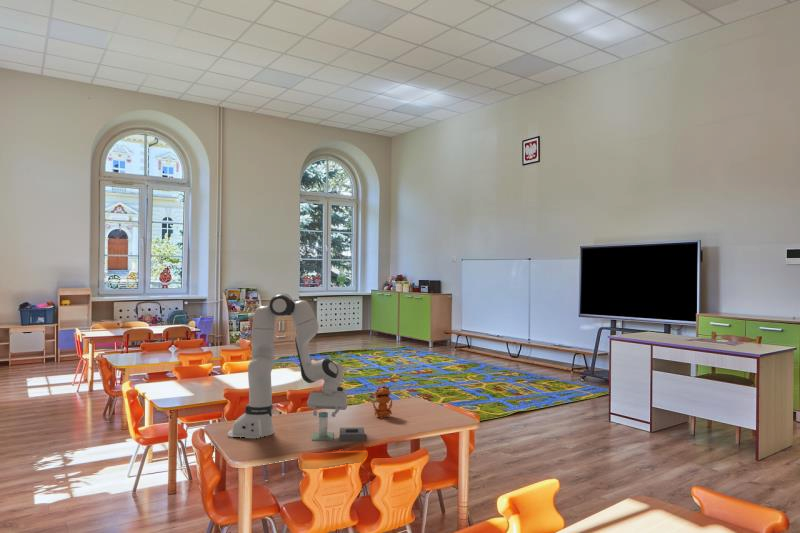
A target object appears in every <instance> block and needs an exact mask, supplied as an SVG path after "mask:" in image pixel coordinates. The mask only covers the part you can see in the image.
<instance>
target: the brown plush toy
mask: <svg viewBox="0 0 800 533" xmlns="http://www.w3.org/2000/svg"><path fill="white" fill-rule="evenodd" d="M391 393H392V392H391V391H390V386H386V385H382V386H381V387H380V386H378V387H377V389H376V391H375V392H374V396H375V401H376V402H377V403H378V406H377V407H376V405H375V401H374V400H372V406H373V409H374V415H375V416H377V418H378V417H387V418H388V417H390V416H391V415H393V413H392V410H391V409H392V407H393V400H392V399H391V396H390V395H391ZM388 403H390V404H389V405H388Z"/></svg>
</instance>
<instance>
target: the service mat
mask: <svg viewBox="0 0 800 533" xmlns="http://www.w3.org/2000/svg"><path fill="white" fill-rule="evenodd" d="M334 435H335V434H334V431H330V432H329V431H327V436H326V437H319V431H317V432H315V431H314V432H313V434H312V438H311V441H313V442H314V441H315V442H317V441H319V442H320V441H322V442H323V441H324V442H325V441H327V442H328V441H334Z"/></svg>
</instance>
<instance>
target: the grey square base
mask: <svg viewBox="0 0 800 533" xmlns="http://www.w3.org/2000/svg"><path fill="white" fill-rule="evenodd" d="M365 435H366V433H365V427H362V426H361V427H356V426H355V427H354V426H353V427H339V439H338V440H339V442H349V441H350V442H359V441H365V439H366V438H365V437H366V436H365Z"/></svg>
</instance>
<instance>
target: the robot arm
mask: <svg viewBox="0 0 800 533" xmlns="http://www.w3.org/2000/svg"><path fill="white" fill-rule="evenodd" d="M284 316H290V318H292V321H293V323H294V325H295V329H296V335H295V340H294V341H295V342H294V343H295V348H296V353H297V357H298V360H299V365H300V374H301V378H302V379H303V381H304V382H306V383H308V384H314V383H315V382H317V381H321V380H323V381H324V382H323V384H322V388H321V390H312V391H310V392H309V396H308V399H307V401H306V405H307V407H308V408H310V409H312V410H313V413H312V415H313V416H314V417H316V416H318V411H317V409H324V410H334V411H332V412H331V417H332V418H333V417H334V418H335V417H336V416H337V414H338V413H339V411H345V410H347V408H348V403H349V402H348V392H347V390H346V388H344V387H342V386H341V384H342V383H343V382H342V381H343V378H344V366H343V365H342V364H341V363H340V362H338V361H333V360H332V359H330V358H322V359H319V360H316V361H313V362H312V361H311V357H310V353H309V348H308V345H309V342H310V341H311V340H312V339H313V338H314V337H316V335H317V333H318V332H319V323H318V320H317V318H316V314H315V313H314V310H313V309H312V306H311V305H310V303H309V302H308V301H307V300H303V299H301V300H297V301H294V300H293V299H292V297H291V296H290V295H289V294H288V293H284V292H281V293H277V294H275V295H274V296H273V297H271V299H270V300H269V304H268V305H262V306H258V307H256V309H255V310H254V313H253V319H252V324H251V337H250V338H251V340H250V341H251V342H250V344H251V360H250V361H249V364H248V366H247V377H248V378H247V380H248V388H249V389H248V390H249V392H248V393H249V394H248V403H247V404H245V406H244V413H242V414H241V415H240V416H239V417H238V418H236V419H235V421H234V422H233V425H232V427H231V429H230V430H229V431H228V432H227V437H229V438H233V437H240V438H239V439H242V438H241V437H245V438H244V439H256V438H257V439H261V438H264V436H265V437H269V436H271V435H274V434H275V430H274V429H275V428H274V424H273V412H274V411H273V409H274V408H273V404H272V403H273V402H272V401H273V400H272V398H273V386H272V371H273V368H274V365H275V362H274V361H275V360H274V359H275V353H274V352H275V350H274V349H275V348H274V347H275V346H274V343H275V342H274V341H275V326H276V324H275V323H276V319H277V317H284ZM260 437H261V438H260Z"/></svg>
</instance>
